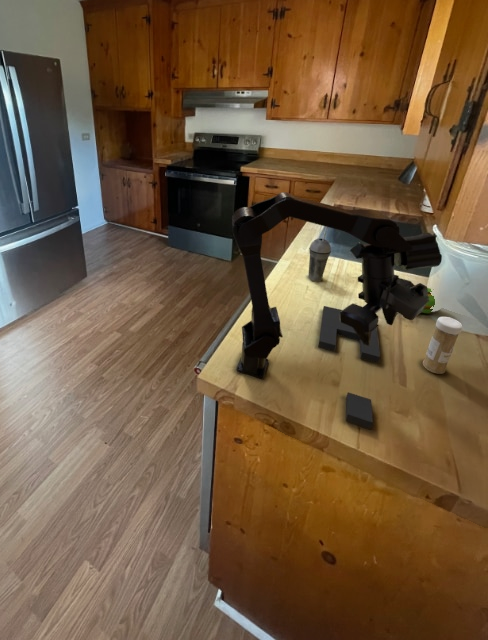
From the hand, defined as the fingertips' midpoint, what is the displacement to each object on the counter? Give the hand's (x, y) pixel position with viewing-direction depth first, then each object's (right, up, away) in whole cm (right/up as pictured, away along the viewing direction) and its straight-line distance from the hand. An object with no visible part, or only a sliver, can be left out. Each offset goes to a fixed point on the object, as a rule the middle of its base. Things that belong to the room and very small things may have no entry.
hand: (378, 334), depth 73 cm
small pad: (-7, -15, -5) cm, 17 cm away
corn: (+27, -1, +31) cm, 41 cm away
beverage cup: (+4, +7, +48) cm, 49 cm away
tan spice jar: (+17, -10, +7) cm, 21 cm away
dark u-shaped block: (+2, -5, +18) cm, 19 cm away
